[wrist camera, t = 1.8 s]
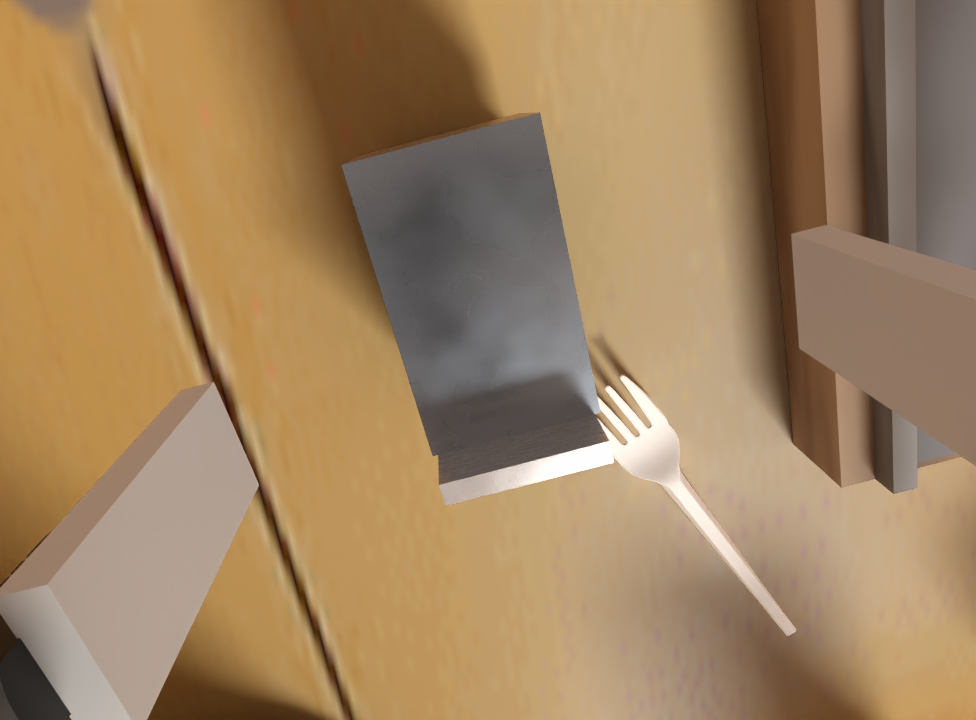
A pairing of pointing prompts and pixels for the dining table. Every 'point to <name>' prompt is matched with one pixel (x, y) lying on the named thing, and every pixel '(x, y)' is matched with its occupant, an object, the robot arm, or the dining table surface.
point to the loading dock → (868, 184)
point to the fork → (677, 484)
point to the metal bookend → (483, 303)
